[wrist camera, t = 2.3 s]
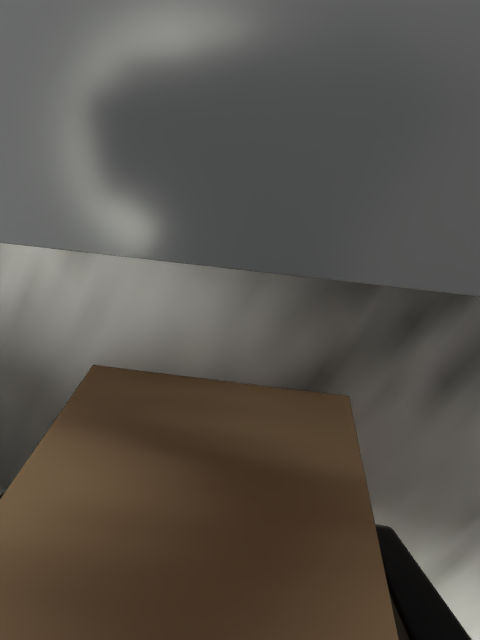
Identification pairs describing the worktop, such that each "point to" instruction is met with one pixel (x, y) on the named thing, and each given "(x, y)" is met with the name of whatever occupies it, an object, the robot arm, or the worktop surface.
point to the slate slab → (247, 135)
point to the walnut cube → (192, 518)
